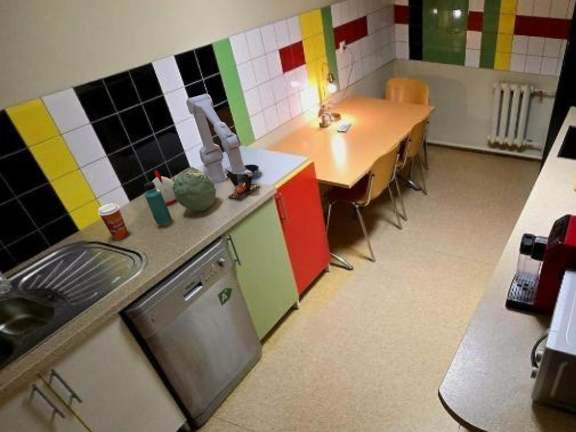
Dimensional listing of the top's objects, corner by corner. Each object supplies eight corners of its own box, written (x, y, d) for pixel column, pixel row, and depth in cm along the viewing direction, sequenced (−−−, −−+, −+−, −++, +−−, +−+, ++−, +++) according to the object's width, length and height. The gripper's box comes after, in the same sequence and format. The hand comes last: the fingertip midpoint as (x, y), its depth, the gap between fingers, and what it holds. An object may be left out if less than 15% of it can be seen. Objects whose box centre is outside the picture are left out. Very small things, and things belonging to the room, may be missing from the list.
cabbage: (227, 198, 198) (215, 160, 187) (207, 220, 182) (193, 180, 171) (196, 197, 200) (183, 159, 189) (174, 219, 185) (158, 179, 174)
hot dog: (240, 195, 197) (238, 189, 196) (235, 194, 198) (233, 188, 197) (252, 186, 204) (251, 181, 202) (247, 185, 205) (246, 180, 204)
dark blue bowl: (237, 184, 210) (235, 176, 208) (236, 174, 220) (234, 167, 217) (261, 179, 213) (260, 171, 211) (259, 169, 223) (257, 162, 220)
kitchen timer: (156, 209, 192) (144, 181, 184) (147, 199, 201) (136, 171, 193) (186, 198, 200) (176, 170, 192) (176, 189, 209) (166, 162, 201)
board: (240, 200, 195) (239, 198, 195) (228, 198, 198) (228, 196, 197) (259, 187, 206) (259, 185, 205) (248, 185, 208) (247, 182, 208)
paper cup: (117, 243, 171) (103, 214, 164) (107, 238, 175) (92, 209, 167) (135, 233, 177) (122, 205, 169) (125, 228, 180) (112, 200, 173)
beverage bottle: (176, 221, 183) (161, 180, 172) (165, 229, 178) (148, 188, 167) (165, 219, 185) (148, 178, 174) (153, 227, 180) (136, 186, 169)
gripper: (254, 159, 193) (260, 185, 200) (230, 155, 199) (237, 180, 206) (243, 166, 188) (250, 192, 195) (219, 161, 193) (226, 187, 201)
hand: (242, 187), depth 200 cm, fingers open, 7 cm apart
